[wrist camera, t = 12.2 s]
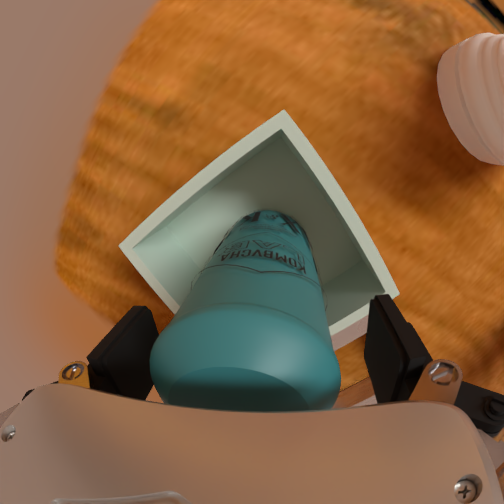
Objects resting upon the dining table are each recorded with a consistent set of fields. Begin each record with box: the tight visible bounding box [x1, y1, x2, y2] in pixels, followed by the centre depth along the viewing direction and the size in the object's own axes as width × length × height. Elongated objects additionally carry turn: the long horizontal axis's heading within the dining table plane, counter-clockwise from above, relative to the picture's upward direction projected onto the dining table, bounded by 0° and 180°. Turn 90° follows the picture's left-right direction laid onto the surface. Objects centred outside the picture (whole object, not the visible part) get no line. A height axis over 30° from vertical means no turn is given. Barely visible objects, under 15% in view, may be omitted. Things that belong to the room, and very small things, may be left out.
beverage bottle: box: [150, 209, 341, 411], centre depth 13 cm, size 6×7×20 cm
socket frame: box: [331, 299, 393, 409], centre depth 25 cm, size 13×13×3 cm
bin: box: [119, 110, 400, 336], centre depth 20 cm, size 14×14×7 cm
